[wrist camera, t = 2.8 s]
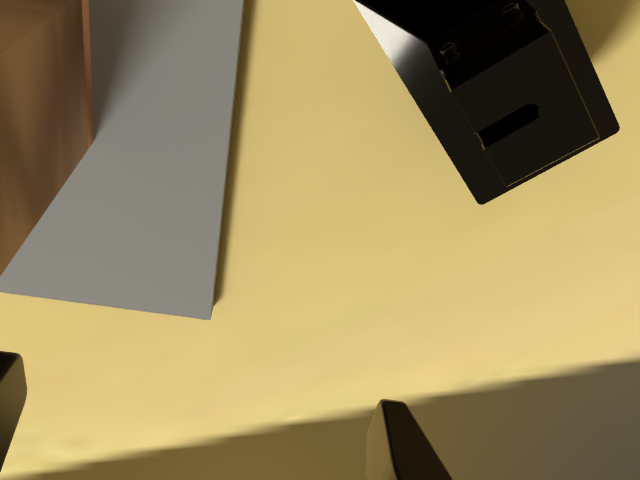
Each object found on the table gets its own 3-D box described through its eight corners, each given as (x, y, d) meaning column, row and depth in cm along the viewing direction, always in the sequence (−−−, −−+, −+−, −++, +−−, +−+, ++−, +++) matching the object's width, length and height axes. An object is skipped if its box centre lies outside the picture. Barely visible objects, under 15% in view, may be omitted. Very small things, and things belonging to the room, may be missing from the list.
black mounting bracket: (296, -43, 19) (290, -6, 15) (519, -209, 16) (578, -215, 12) (475, 234, 24) (502, 310, 21) (657, 142, 22) (725, 210, 18)
